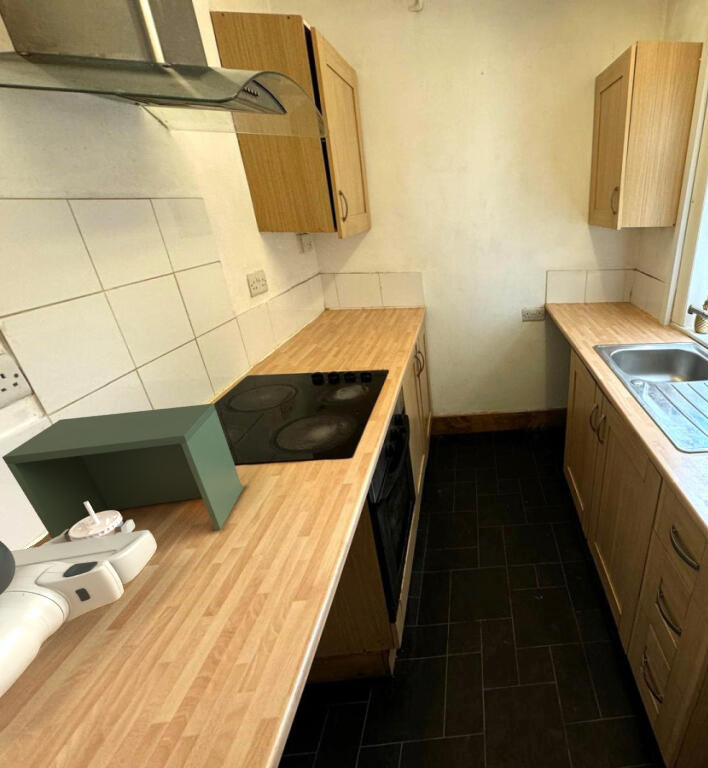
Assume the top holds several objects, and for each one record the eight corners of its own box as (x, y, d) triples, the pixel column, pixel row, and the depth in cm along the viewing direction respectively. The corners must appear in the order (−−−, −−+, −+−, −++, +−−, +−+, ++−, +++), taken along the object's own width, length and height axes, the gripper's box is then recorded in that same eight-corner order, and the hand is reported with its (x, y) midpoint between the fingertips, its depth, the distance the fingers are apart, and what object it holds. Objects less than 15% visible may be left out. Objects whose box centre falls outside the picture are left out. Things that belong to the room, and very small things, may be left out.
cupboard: (62, 555, 76) (1, 457, 67) (106, 508, 88) (60, 419, 79) (220, 529, 82) (184, 435, 73) (242, 488, 93) (213, 403, 84)
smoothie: (115, 584, 69) (77, 517, 63) (82, 579, 69) (43, 513, 64) (151, 554, 74) (120, 490, 69) (121, 550, 75) (88, 487, 70)
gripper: (-44, 630, 56) (36, 553, 69) (132, 597, 61) (177, 530, 73) (-71, 597, 54) (17, 523, 66) (114, 565, 58) (164, 501, 70)
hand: (102, 527), depth 69 cm, fingers closed on smoothie, 6 cm apart
